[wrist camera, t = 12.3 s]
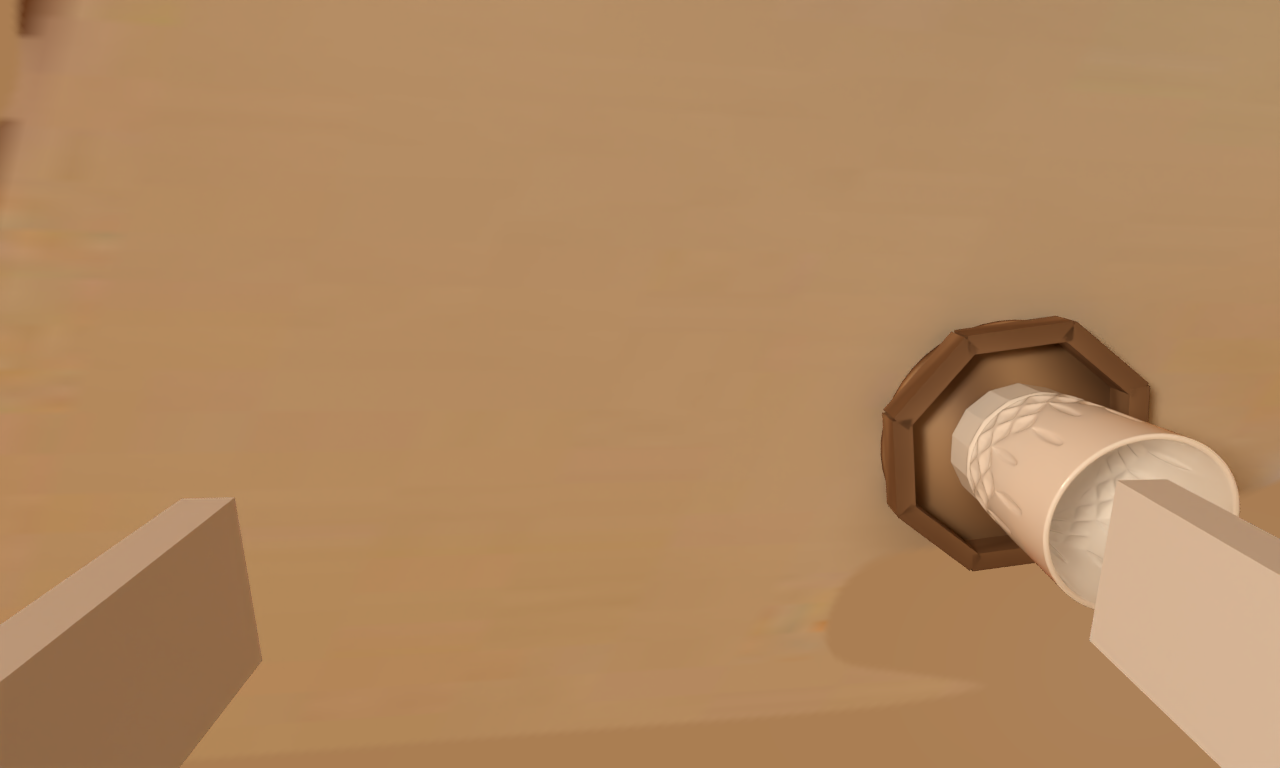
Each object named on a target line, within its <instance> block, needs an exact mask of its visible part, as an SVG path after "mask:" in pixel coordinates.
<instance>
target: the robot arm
mask: <svg viewBox="0 0 1280 768" xmlns="http://www.w3.org/2000/svg"><path fill="white" fill-rule="evenodd" d="M1089 641H1090V642H1091V643H1092V644H1094V645H1095V646H1096V647H1097V648H1098V649H1099V650H1100V651H1101V652H1102V653H1103V654H1104V655H1105V656H1106V657H1107V658H1108V659H1109V660H1110V661H1111V662H1112V663H1113V664H1114V665H1115V666H1116V667H1118V669H1119V670H1121V671H1122V672H1123V673H1124V674H1125V675H1126V676H1127V677H1128V678H1129V679H1130V680H1131V681H1132V682H1133V683H1134V684H1135V685H1136V686H1137V687H1138V688H1139V689H1140V690H1141V691H1142V692H1144V693H1145V695H1147V696H1148V697H1149V698H1150V699H1151V700H1152V701H1153V702H1154V703H1155V704H1156V705H1157V706H1158V707H1159V708H1160V709H1161V710H1162V711H1163V712H1164V713H1165V714H1166V715H1167V716H1168V717H1169V718H1171V720H1173V721H1174V722H1175V723H1176V724H1177V725H1178V726H1179V727H1180V728H1181V729H1182V730H1183V731H1184V732H1185V733H1186V734H1187V735H1188V736H1189V737H1190V738H1191V739H1192V740H1193V741H1194V742H1196V744H1198V745H1199V746H1200V747H1201V748H1202V749H1203V750H1204V751H1205V752H1206V753H1207V754H1208V755H1209V756H1210V757H1211V758H1212V759H1213V760H1214V761H1215V762H1216V763H1218V765H1219V766H1221V768H1280V539H1279V538H1277V537H1276V536H1274V535H1272V534H1270V533H1268V532H1266V531H1264V530H1262V529H1260V528H1258V527H1257V526H1255V525H1253V524H1251V523H1249V522H1247V521H1245V520H1243V519H1241V518H1240V517H1238V516H1236V515H1234V514H1232V513H1230V512H1228V511H1226V510H1224V509H1222V508H1221V507H1219V506H1217V505H1215V504H1213V503H1211V502H1209V501H1207V500H1205V499H1204V498H1202V497H1200V496H1198V495H1196V494H1194V493H1192V492H1190V491H1188V490H1186V489H1185V488H1183V487H1181V486H1179V485H1177V484H1175V483H1173V482H1171V481H1169V480H1168V479H1154V480H1117V482H1116V488H1115V494H1114V500H1113V506H1112V511H1111V517H1110V523H1109V529H1108V535H1107V541H1106V546H1105V552H1104V558H1103V564H1102V570H1101V575H1100V581H1099V587H1098V593H1097V599H1096V605H1095V611H1094V616H1093V623H1092V628H1091V634H1090V640H1089ZM261 661H262V656H261V650H260V644H259V638H258V632H257V627H256V621H255V615H254V609H253V603H252V597H251V591H250V585H249V579H248V573H247V568H246V562H245V556H244V550H243V544H242V538H241V532H240V526H239V520H238V514H237V509H236V503H235V498H186V499H181V500H179V501H178V502H176V503H175V504H173V505H172V506H170V507H169V508H168V509H166V510H165V511H163V512H162V513H160V514H159V515H157V516H156V517H155V518H153V519H152V520H150V521H149V522H147V523H146V524H145V525H143V526H142V527H140V528H139V529H137V530H136V531H134V532H133V533H132V534H130V535H129V536H127V537H126V538H124V539H123V540H122V541H120V542H119V543H117V544H116V545H114V546H113V547H111V548H110V549H109V550H107V551H106V552H104V553H103V554H101V555H100V556H98V557H97V558H96V559H94V560H93V561H91V562H90V563H88V564H87V565H86V566H84V567H83V568H81V569H80V570H78V571H77V572H75V573H74V574H73V575H71V576H70V577H68V578H67V579H65V580H64V581H62V582H61V583H60V584H58V585H57V586H55V587H54V588H52V589H51V590H50V591H48V592H47V593H45V594H44V595H42V596H41V597H39V598H38V599H37V600H35V601H34V602H32V603H31V604H29V605H28V606H27V607H25V608H24V609H22V610H21V611H19V612H18V613H16V614H15V615H14V616H12V617H11V618H9V619H8V620H6V621H5V622H3V623H2V624H1V625H0V768H180V766H181V765H182V764H183V762H184V761H185V760H186V759H187V757H188V756H189V755H190V753H191V752H192V751H193V749H194V748H195V747H196V746H197V744H198V743H199V742H200V740H201V739H202V738H203V737H204V735H205V734H206V733H207V731H208V730H209V729H210V727H211V726H212V725H213V724H214V722H215V721H216V720H217V718H218V717H219V716H220V714H221V713H222V712H223V711H224V709H225V708H226V707H227V705H228V704H229V703H230V701H231V700H232V699H233V698H234V696H235V695H236V694H237V692H238V691H239V690H240V688H241V687H242V686H243V685H244V683H245V682H246V681H247V679H248V678H249V677H250V676H251V674H252V673H253V672H254V670H255V669H256V668H257V666H258V665H259V664H260V663H261Z"/></svg>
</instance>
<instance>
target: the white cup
mask: <svg viewBox="0 0 1280 768" xmlns="http://www.w3.org/2000/svg"><path fill="white" fill-rule="evenodd" d="M951 463H952V466H953V468H954V470H955V472H956V474H957V476H958V478H959V480H960V483H961V485H962V486H963V487H964V488H965V489H966V490H967V491H968V492H969V493H970V494H971V495H972V496H974V497H975V498H976V499H977V500H978V501H979V503H980V504H981V506H982V507H983V508H984V509H985V511H986V512H987V513H988V514H989V515H990V517H991V518H992V519H993V520H994V521H995V522H996V523H997V524H998V525H999V526H1000V527H1001V528H1002V529H1003V530H1004V532H1005V533H1006V534H1007V535H1008V536H1009V537H1010V538H1011V539H1012V540H1013V541H1014V542H1015V543H1016V544H1017V545H1018V546H1019V547H1020V548H1021V549H1022V550H1023V551H1024V552H1025V553H1026V554H1027V555H1028V556H1029V557H1030V558H1031V559H1032V560H1033V561H1034V562H1035V563H1036V564H1037V565H1038V566H1039V567H1040V568H1041V569H1042V570H1043V571H1044V572H1045V573H1046V574H1047V575H1048V576H1049V577H1050V578H1051V579H1052V580H1053V581H1054V582H1055V583H1056V584H1057V585H1058V586H1059V587H1060V588H1061V589H1062V590H1063V591H1064V592H1065V593H1066V594H1067V595H1068V596H1070V597H1071V598H1072V599H1074V600H1075V601H1077V602H1078V603H1080V604H1082V605H1084V606H1086V607H1089V608H1091V609H1094V610H1095V605H1096V599H1097V593H1098V587H1099V581H1100V575H1101V570H1102V564H1103V558H1104V552H1105V546H1106V541H1107V535H1108V529H1109V523H1110V517H1111V511H1112V506H1113V500H1114V494H1115V488H1116V482H1117V480H1154V479H1168V480H1169V481H1171V482H1173V483H1175V484H1177V485H1179V486H1181V487H1183V488H1185V489H1186V490H1188V491H1190V492H1192V493H1194V494H1196V495H1198V496H1200V497H1202V498H1204V499H1205V500H1207V501H1209V502H1211V503H1213V504H1215V505H1217V506H1219V507H1221V508H1222V509H1224V510H1226V511H1228V512H1230V513H1232V514H1234V515H1236V516H1238V517H1239V514H1240V499H1239V492H1238V488H1237V484H1236V481H1235V479H1234V476H1233V474H1232V472H1231V470H1230V469H1229V467H1228V466H1227V464H1226V463H1225V462H1224V460H1223V459H1222V458H1221V457H1220V456H1219V455H1218V454H1217V453H1216V452H1214V451H1213V450H1212V449H1210V448H1209V447H1207V446H1206V445H1204V444H1202V443H1200V442H1198V441H1196V440H1194V439H1191V438H1188V437H1186V436H1183V435H1180V434H1177V433H1175V432H1172V431H1169V430H1167V429H1164V428H1161V427H1159V426H1156V425H1153V424H1150V423H1148V422H1145V421H1142V420H1140V419H1137V418H1134V417H1132V416H1129V415H1126V414H1124V413H1121V412H1119V411H1116V410H1113V409H1110V408H1107V407H1104V406H1101V405H1098V404H1094V403H1092V402H1089V401H1086V400H1083V399H1080V398H1077V397H1074V396H1070V395H1066V394H1062V393H1059V392H1057V391H1054V390H1052V389H1049V388H1046V387H1040V386H1034V385H1028V384H1022V383H1016V384H1012V385H1009V386H1005V387H1002V388H998V389H994V390H991V391H989V392H987V393H986V394H985V395H983V396H982V397H981V398H980V399H978V400H977V401H976V402H975V403H973V404H972V405H971V406H970V407H968V408H967V409H966V410H965V412H964V414H963V416H962V417H961V419H960V421H959V423H958V425H957V427H956V428H955V430H954V432H953V434H952V445H951Z"/></svg>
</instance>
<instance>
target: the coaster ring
mask: <svg viewBox="0 0 1280 768" xmlns="http://www.w3.org/2000/svg"><path fill="white" fill-rule="evenodd" d="M1016 383H1022V384H1028V385H1034V386H1040V387H1046V388H1049V389H1052V390H1054V391H1057V392H1059V393H1062V394H1066V395H1070V396H1074V397H1077V398H1080V399H1083V400H1086V401H1089V402H1092V403H1094V404H1098V405H1101V406H1104V407H1107V408H1110V409H1113V410H1116V411H1119V412H1121V413H1124V414H1126V415H1129V416H1132V417H1134V418H1137V419H1140V420H1142V421H1145V422H1148V412H1149V392H1150V386H1148V385H1147V384H1148V382H1147V381H1145V380H1144V379H1143V378H1142V377H1141V376H1140V375H1138V374H1137V373H1136V372H1135V371H1134V370H1133V369H1131V368H1130V367H1129V366H1128V365H1127V364H1126V363H1124V362H1123V361H1122V360H1121V359H1120V358H1119V357H1117V356H1116V355H1115V354H1114V353H1113V352H1112V351H1110V350H1109V349H1108V348H1107V347H1106V346H1105V345H1103V344H1102V343H1101V342H1100V341H1099V340H1098V339H1096V338H1095V337H1094V336H1093V335H1092V334H1091V333H1089V332H1088V331H1087V330H1086V329H1085V328H1084V327H1082V326H1081V325H1080V324H1079V323H1078V322H1076V321H1072V320H1069V319H1065V318H1062V317H1058V316H1052V317H1045V318H1037V319H1030V320H1006V321H997V322H992V323H987V324H982V325H979V326H976V327H973V328H966V329H959V330H954V333H953V332H951V333H950V334H949V335H948V336H947V337H946V339H945V340H944V341H943V342H942V343H941V344H940V345H938V346H937V347H935V348H934V349H933V350H932V351H930V352H929V353H928V354H927V355H926V356H924V357H923V358H922V359H921V360H920V361H919V362H918V363H917V364H916V365H915V366H914V367H913V368H912V370H911V371H910V372H909V374H908V375H907V376H906V378H905V379H904V380H903V381H902V383H901V385H900V386H899V388H898V390H897V391H896V393H895V395H894V397H893V399H892V400H891V402H890V403H889V404H888V405H887V406H886V407H885V409H884V411H885V413H882V417H883V431H882V437H881V460H882V468H883V472H884V476H885V480H886V493H887V504H888V505H889V507H890V508H891V509H892V511H893V512H894V513H895V514H896V515H897V516H898V518H900V519H901V520H902V521H904V522H905V523H906V524H908V525H909V526H910V527H912V528H913V529H914V530H916V531H917V532H918V533H920V534H921V535H923V536H924V537H925V538H927V539H928V540H929V541H931V542H932V543H933V544H935V545H936V546H937V547H939V548H940V549H941V550H943V551H944V552H945V553H947V554H948V555H949V556H951V557H952V558H954V559H955V560H956V561H958V562H959V563H960V564H962V565H963V566H964V567H966V568H967V569H968V570H972V571H978V570H985V569H993V568H1000V567H1008V566H1015V565H1023V564H1030V563H1035V562H1034V561H1033V560H1032V559H1031V558H1030V557H1029V556H1028V555H1027V554H1026V553H1025V552H1024V551H1023V550H1022V549H1021V548H1020V547H1019V546H1018V545H1017V544H1016V543H1015V542H1014V541H1013V540H1012V539H1011V538H1010V537H1009V536H1008V535H1007V534H1006V533H1005V532H1004V530H1003V529H1002V528H1001V527H1000V526H999V525H998V524H997V523H996V522H995V521H994V520H993V519H992V518H991V517H990V515H989V514H988V513H987V512H986V511H985V509H984V508H983V507H982V506H981V504H980V503H979V501H978V500H977V499H976V498H975V497H974V496H972V495H971V494H970V493H969V492H968V491H967V490H966V489H965V488H964V487H963V486H962V485H961V483H960V480H959V478H958V476H957V474H956V472H955V470H954V468H953V466H952V463H951V445H952V434H953V432H954V430H955V428H956V427H957V425H958V423H959V421H960V419H961V417H962V416H963V414H964V412H965V410H966V409H967V408H968V407H970V406H971V405H972V404H973V403H975V402H976V401H977V400H978V399H980V398H981V397H982V396H983V395H985V394H986V393H987V392H989V391H991V390H994V389H998V388H1002V387H1005V386H1009V385H1012V384H1016Z"/></svg>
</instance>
